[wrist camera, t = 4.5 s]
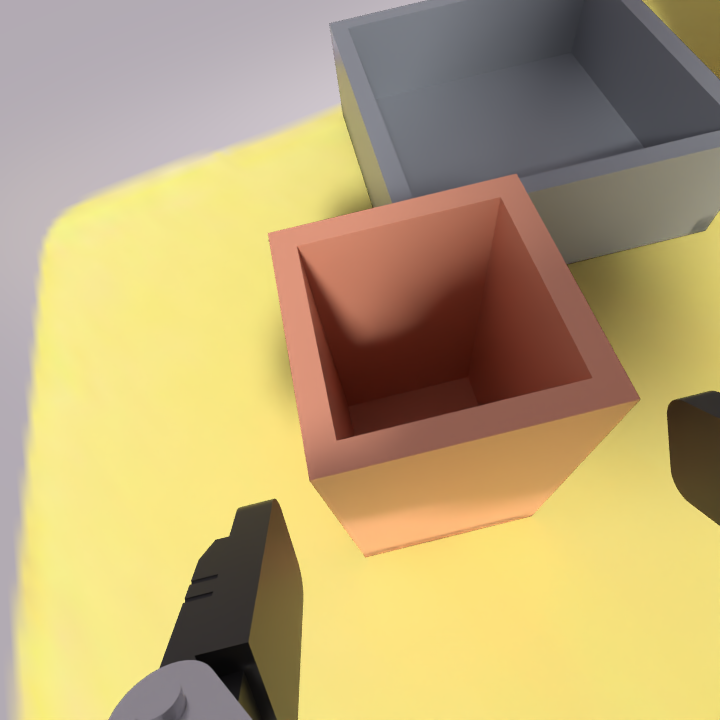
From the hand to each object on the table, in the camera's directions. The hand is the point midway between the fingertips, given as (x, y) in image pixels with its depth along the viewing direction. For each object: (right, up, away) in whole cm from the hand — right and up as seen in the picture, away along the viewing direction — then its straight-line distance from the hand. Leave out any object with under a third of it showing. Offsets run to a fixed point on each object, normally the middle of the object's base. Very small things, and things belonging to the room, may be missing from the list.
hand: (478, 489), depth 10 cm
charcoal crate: (+5, +13, +16) cm, 21 cm away
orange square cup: (0, -1, +9) cm, 9 cm away
